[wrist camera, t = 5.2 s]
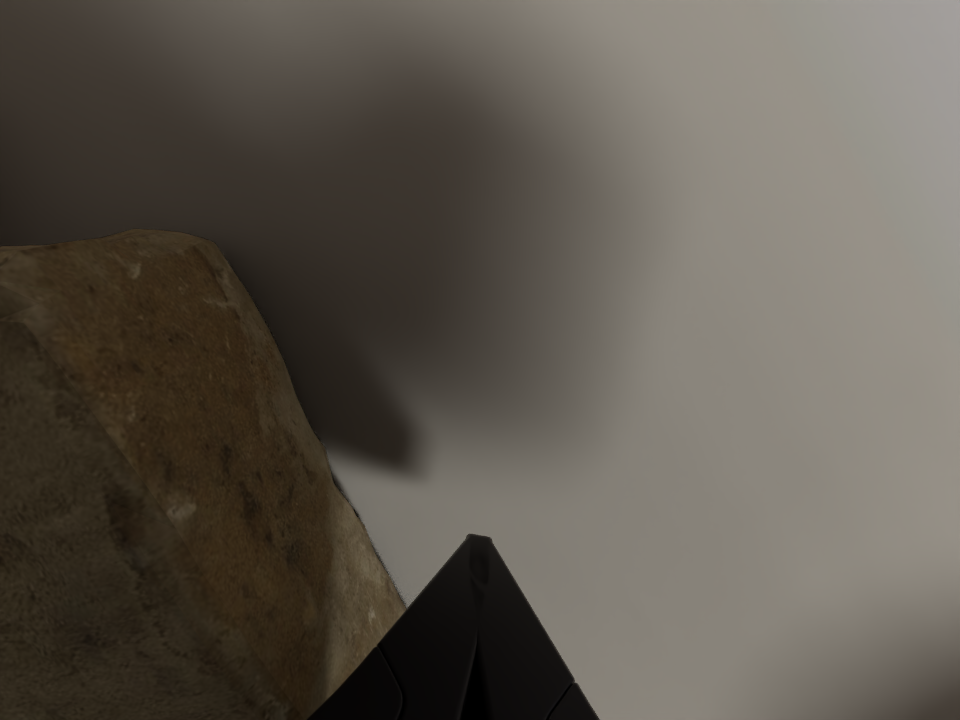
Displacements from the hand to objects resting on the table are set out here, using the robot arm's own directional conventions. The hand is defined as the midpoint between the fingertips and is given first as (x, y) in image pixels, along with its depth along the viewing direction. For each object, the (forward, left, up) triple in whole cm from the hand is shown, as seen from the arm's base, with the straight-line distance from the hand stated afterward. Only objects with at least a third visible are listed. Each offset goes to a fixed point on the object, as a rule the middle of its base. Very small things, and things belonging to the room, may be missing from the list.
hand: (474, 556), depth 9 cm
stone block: (-1, +5, -2) cm, 6 cm away
